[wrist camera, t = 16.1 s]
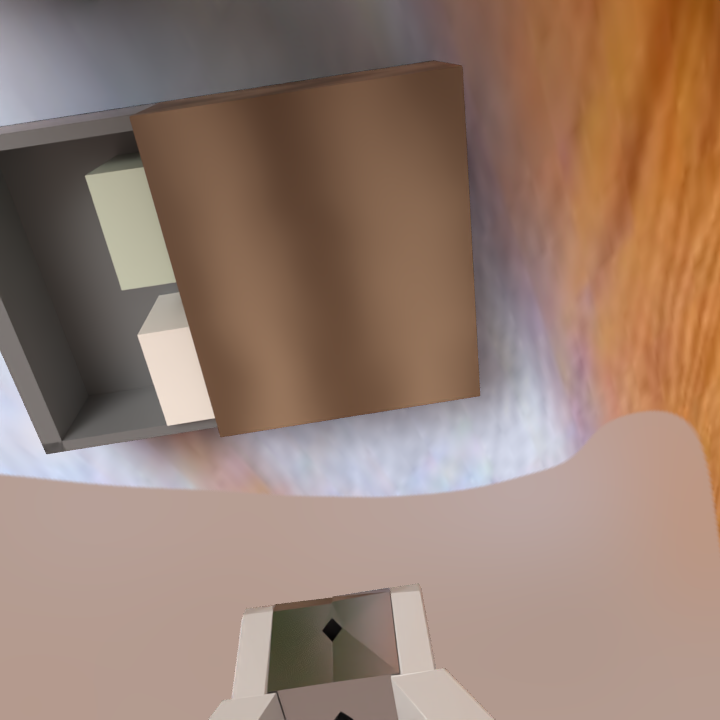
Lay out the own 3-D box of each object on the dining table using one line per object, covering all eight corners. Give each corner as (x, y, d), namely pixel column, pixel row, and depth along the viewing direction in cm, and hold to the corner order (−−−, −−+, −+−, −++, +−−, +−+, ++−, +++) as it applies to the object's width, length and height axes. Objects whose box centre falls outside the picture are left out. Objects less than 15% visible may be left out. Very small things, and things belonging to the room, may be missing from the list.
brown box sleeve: (433, 60, 30) (462, 65, 25) (454, 343, 37) (480, 395, 31) (159, 102, 30) (128, 116, 24) (232, 378, 37) (220, 437, 31)
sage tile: (146, 166, 26) (84, 175, 26) (178, 282, 28) (121, 290, 28) (168, 147, 30) (116, 155, 30) (194, 248, 32) (146, 255, 32)
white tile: (191, 326, 29) (137, 335, 29) (217, 417, 31) (167, 425, 31) (205, 287, 33) (159, 295, 33) (227, 370, 36) (184, 377, 36)
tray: (159, 102, 30) (135, 113, 25) (232, 378, 37) (222, 426, 32) (-32, 131, 30) (-90, 148, 25) (77, 403, 36) (46, 454, 32)
